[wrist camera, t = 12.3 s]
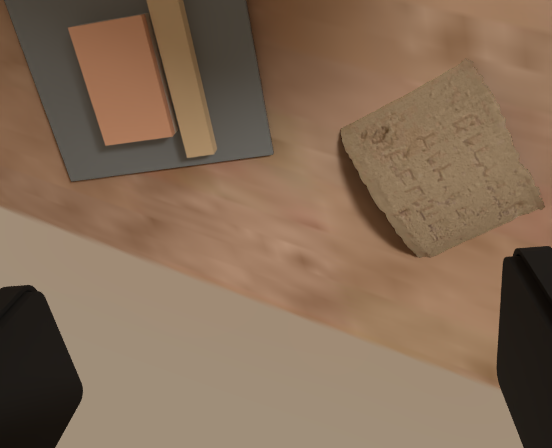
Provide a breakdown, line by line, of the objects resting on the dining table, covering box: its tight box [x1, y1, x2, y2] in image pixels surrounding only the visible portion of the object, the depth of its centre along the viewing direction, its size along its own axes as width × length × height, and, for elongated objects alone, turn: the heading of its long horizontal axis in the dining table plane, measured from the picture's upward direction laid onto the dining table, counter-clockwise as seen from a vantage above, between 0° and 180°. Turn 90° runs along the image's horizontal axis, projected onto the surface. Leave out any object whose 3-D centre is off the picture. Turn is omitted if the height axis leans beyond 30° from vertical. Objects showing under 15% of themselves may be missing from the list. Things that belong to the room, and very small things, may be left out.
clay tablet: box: [341, 58, 545, 258], centre depth 37 cm, size 14×10×3 cm
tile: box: [68, 13, 178, 146], centre depth 35 cm, size 8×2×5 cm
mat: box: [4, 0, 274, 182], centre depth 35 cm, size 18×16×2 cm
